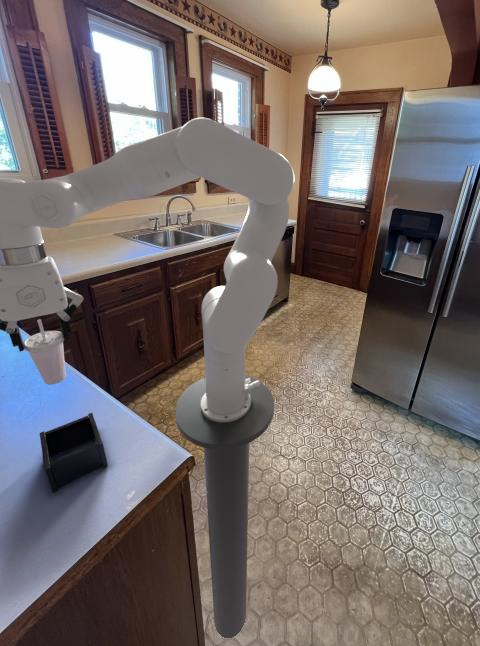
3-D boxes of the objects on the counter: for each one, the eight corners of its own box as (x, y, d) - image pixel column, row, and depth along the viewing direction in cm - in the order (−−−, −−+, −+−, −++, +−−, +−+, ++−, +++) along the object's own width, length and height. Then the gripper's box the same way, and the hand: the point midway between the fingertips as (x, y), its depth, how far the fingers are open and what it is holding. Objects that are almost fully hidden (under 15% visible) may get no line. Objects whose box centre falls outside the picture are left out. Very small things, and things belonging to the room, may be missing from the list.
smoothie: (43, 393, 60) (23, 331, 55) (31, 379, 64) (11, 319, 58) (79, 377, 65) (64, 318, 59) (65, 365, 68) (50, 308, 63)
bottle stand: (97, 433, 68) (92, 412, 65) (108, 465, 61) (102, 443, 59) (46, 454, 62) (39, 432, 60) (52, 493, 56) (44, 470, 53)
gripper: (-54, 268, 46) (-16, 367, 53) (81, 252, 56) (98, 337, 63) (-49, 255, 51) (-15, 347, 58) (74, 243, 62) (90, 322, 69)
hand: (44, 341), depth 61 cm, fingers closed on smoothie, 6 cm apart
